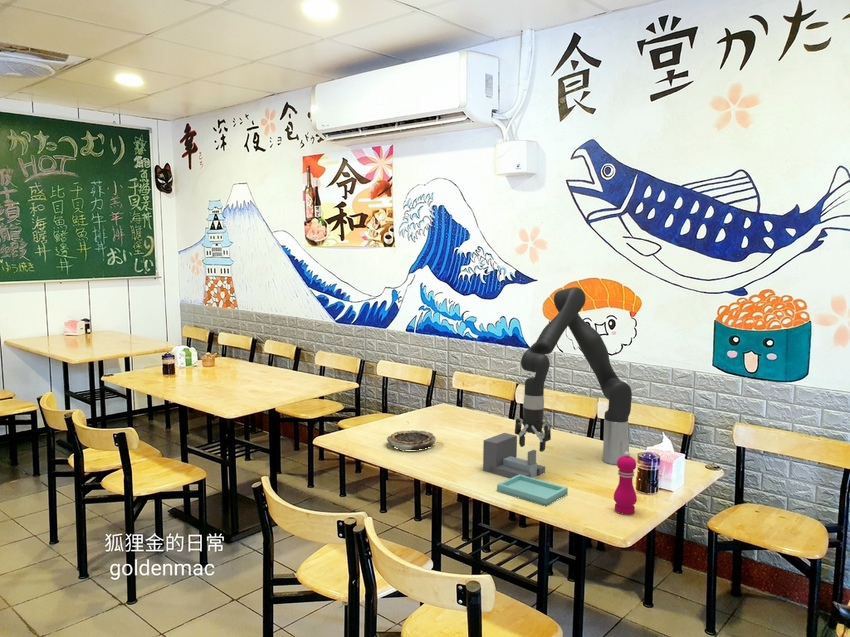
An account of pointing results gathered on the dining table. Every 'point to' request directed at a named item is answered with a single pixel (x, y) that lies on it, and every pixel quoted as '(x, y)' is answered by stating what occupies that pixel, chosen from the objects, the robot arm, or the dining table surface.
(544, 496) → the tray
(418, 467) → the dining table surface
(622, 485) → the pepper mill
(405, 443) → the pie
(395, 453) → the dining table surface
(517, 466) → the grey block with peg
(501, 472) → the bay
